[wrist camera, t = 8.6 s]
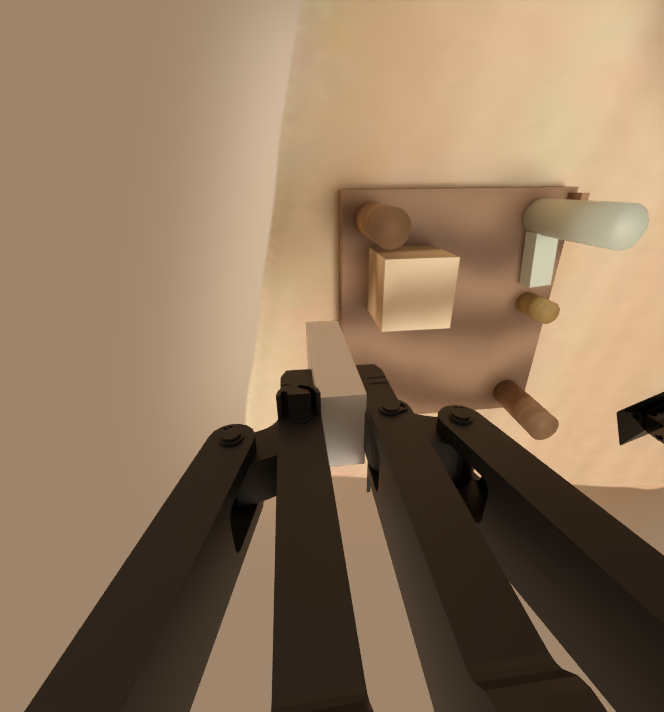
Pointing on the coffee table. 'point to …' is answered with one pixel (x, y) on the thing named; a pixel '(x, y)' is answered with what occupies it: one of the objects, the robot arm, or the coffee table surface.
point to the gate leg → (575, 231)
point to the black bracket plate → (642, 420)
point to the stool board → (471, 301)
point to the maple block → (411, 287)
